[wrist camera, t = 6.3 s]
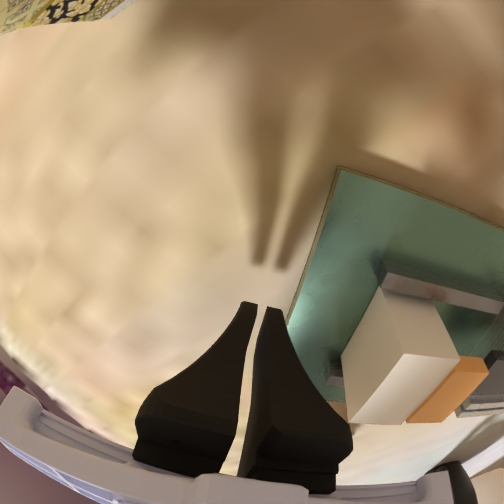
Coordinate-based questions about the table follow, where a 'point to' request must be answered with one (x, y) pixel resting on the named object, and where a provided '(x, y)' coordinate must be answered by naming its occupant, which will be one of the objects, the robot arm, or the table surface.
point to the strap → (492, 375)
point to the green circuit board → (397, 276)
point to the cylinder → (490, 487)
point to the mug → (458, 483)
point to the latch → (405, 364)
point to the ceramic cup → (55, 12)
